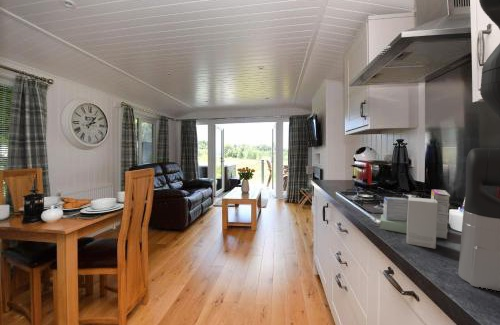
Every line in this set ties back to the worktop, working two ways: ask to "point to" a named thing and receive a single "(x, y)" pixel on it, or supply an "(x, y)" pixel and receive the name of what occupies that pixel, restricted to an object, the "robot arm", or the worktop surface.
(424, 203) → the skincare box
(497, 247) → the robot arm
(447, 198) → the candy bar box
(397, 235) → the worktop surface
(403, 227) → the sage block
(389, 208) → the medicine box
